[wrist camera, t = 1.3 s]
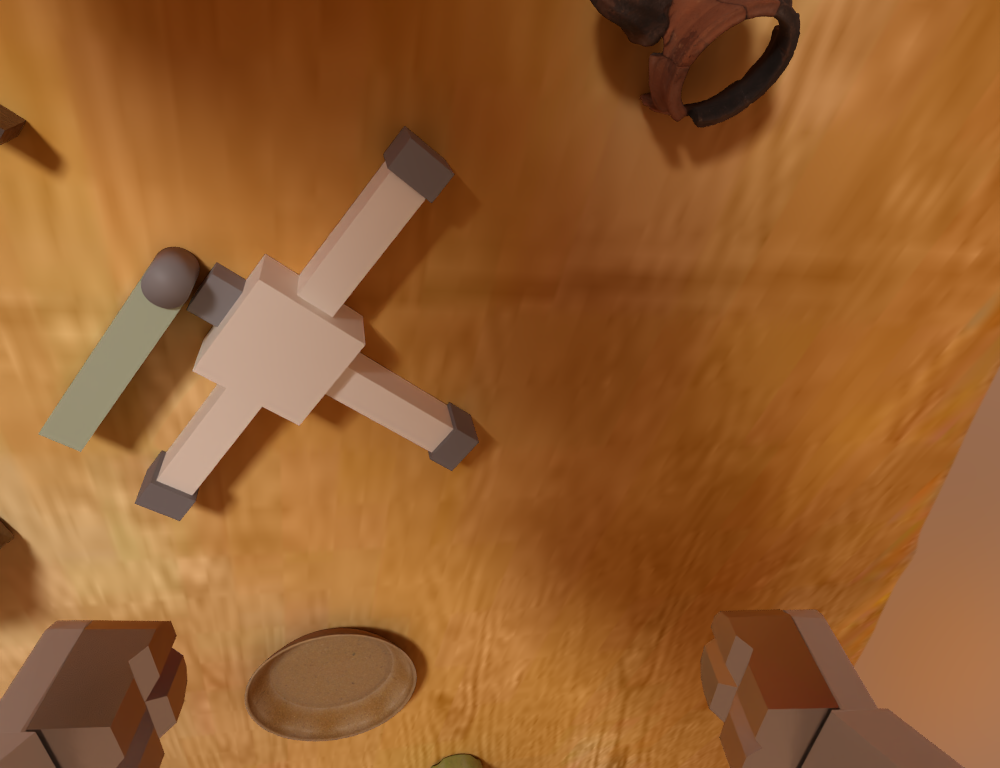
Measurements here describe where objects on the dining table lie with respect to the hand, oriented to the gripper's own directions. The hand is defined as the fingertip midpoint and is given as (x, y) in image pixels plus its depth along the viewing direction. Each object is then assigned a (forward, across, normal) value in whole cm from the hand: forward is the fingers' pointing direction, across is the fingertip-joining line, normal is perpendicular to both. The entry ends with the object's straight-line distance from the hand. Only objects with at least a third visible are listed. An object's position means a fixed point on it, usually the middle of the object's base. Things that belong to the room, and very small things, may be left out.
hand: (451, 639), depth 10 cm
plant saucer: (+32, +11, +46) cm, 57 cm away
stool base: (+32, +7, +14) cm, 36 cm away
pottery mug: (+36, -11, -8) cm, 38 cm away
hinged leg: (+30, +20, +11) cm, 37 cm away
